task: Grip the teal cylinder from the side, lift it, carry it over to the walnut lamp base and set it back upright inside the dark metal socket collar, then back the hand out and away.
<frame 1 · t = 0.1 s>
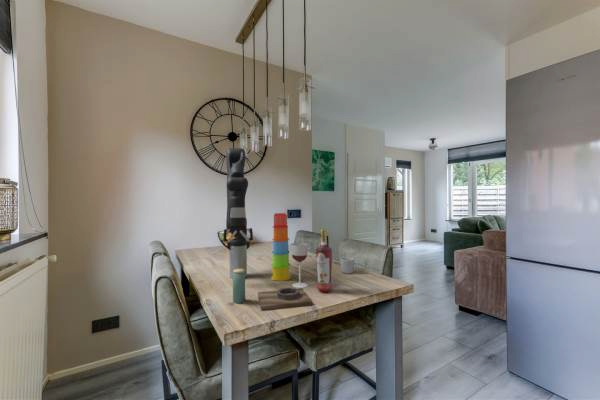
hand: (238, 249, 133), 17 cm above the table, tool pointing down, fingers open, 8 cm apart
liquor: (324, 291, 122), on the table
wineglass: (299, 285, 130), on the table
teal cylinder: (239, 301, 111), on the table
lamp base: (283, 300, 111), on the table
stacking cups: (280, 278, 142), on the table
cup: (349, 273, 150), on the table
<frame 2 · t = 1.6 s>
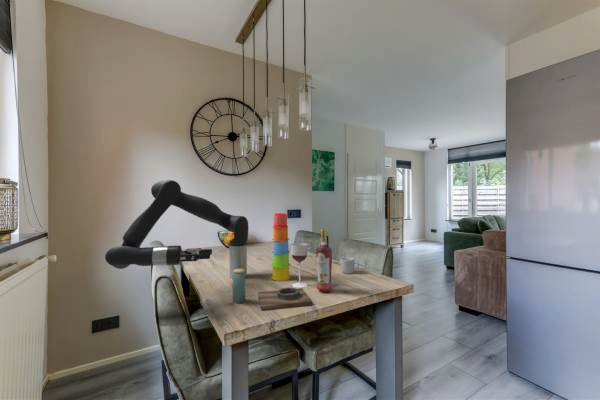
hand: (211, 253, 108), 20 cm above the table, tool horizontal, fingers open, 8 cm apart
nothing on the table moved.
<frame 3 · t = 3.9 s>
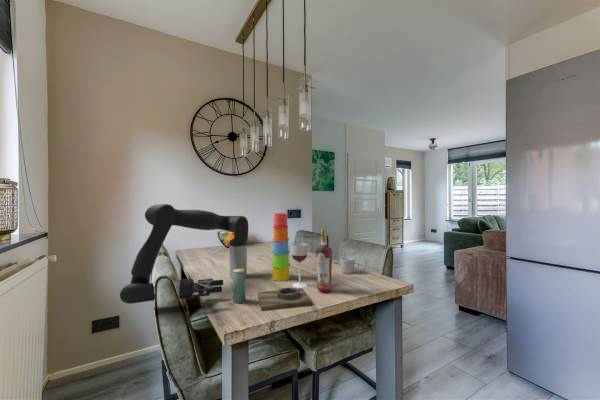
hand: (222, 285, 109), 7 cm above the table, tool horizontal, fingers open, 8 cm apart
nothing on the table moved.
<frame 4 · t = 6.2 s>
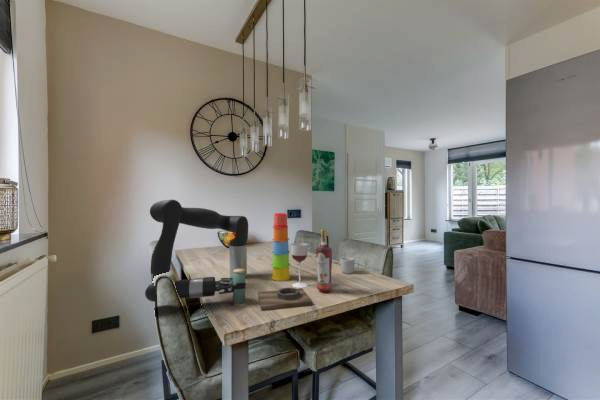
hand: (245, 283, 111), 7 cm above the table, tool horizontal, fingers closed on teal cylinder, 5 cm apart
teal cylinder: (239, 300, 111), on the table, touching gripper
everything else where it was.
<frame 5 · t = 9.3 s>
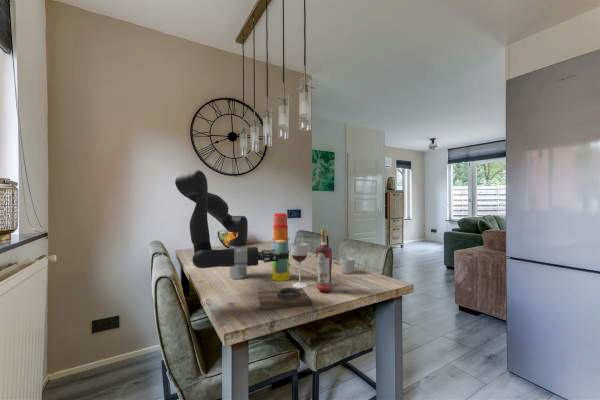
hand: (287, 254, 112), 19 cm above the table, tool horizontal, fingers closed on teal cylinder, 5 cm apart
teal cylinder: (281, 271, 111), point 12 cm above the table, touching gripper
everything else where it was.
when the fingers open (9 cm above the table, at t = 12.4 s): teal cylinder stays where it is, resting on lamp base.
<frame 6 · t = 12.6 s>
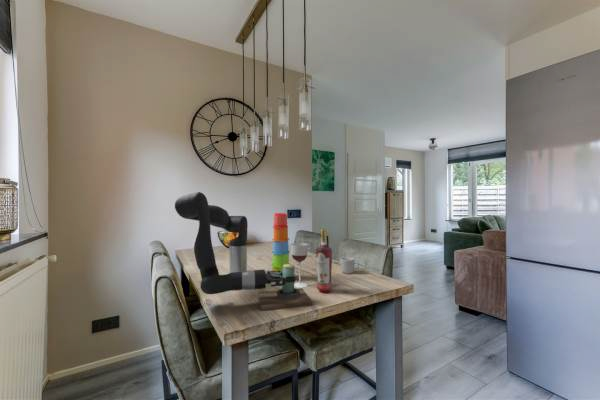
hand: (293, 276, 112), 10 cm above the table, tool horizontal, fingers open, 6 cm apart
teal cylinder: (288, 295, 112), point 2 cm above the table, touching lamp base
everything else where it was.
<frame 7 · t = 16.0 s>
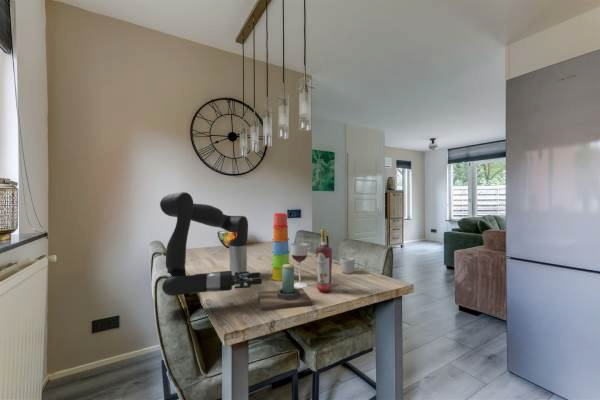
hand: (260, 277, 109), 10 cm above the table, tool horizontal, fingers open, 8 cm apart
nothing on the table moved.
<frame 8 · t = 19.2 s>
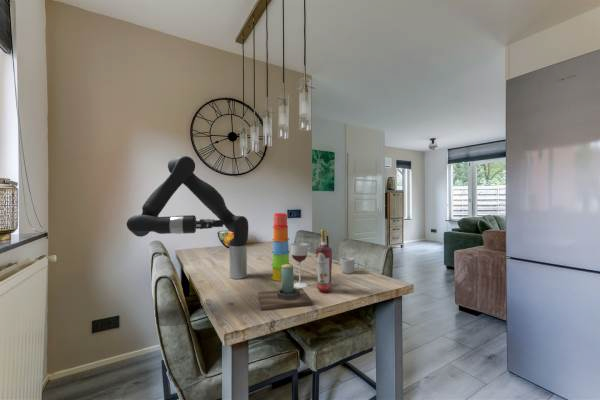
hand: (223, 223, 115), 32 cm above the table, tool horizontal, fingers open, 8 cm apart
nothing on the table moved.
at the end: teal cylinder 0.1 cm from the target spot on the lamp base, point 1.6 cm above the lamp base's base; teal cylinder tilted 1°; the gripper is holding nothing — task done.
